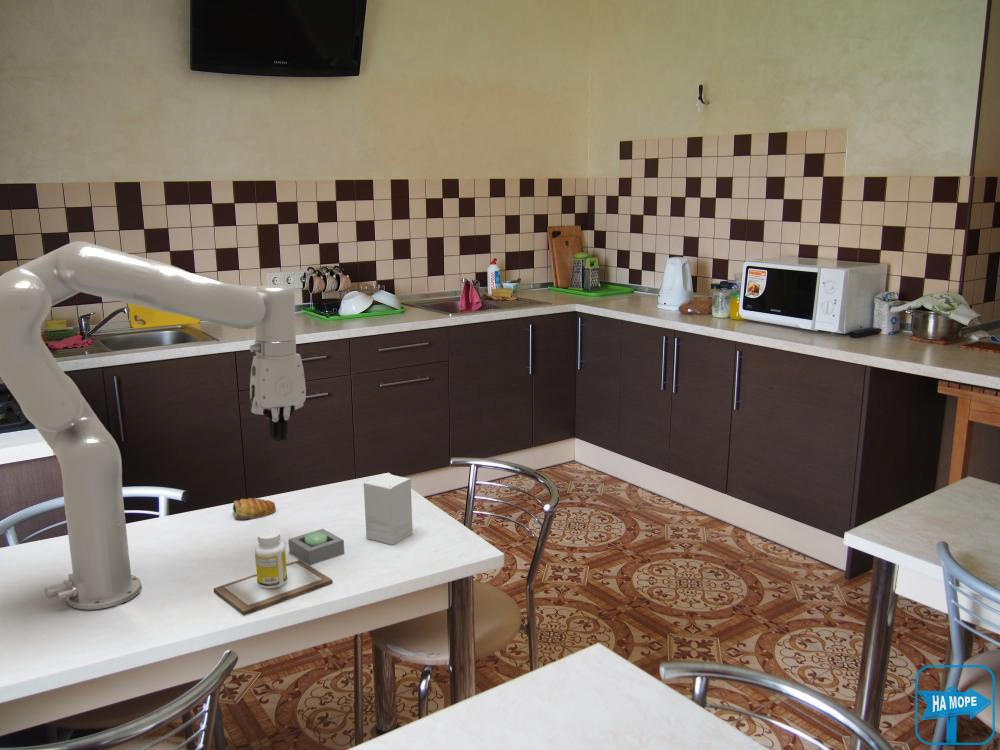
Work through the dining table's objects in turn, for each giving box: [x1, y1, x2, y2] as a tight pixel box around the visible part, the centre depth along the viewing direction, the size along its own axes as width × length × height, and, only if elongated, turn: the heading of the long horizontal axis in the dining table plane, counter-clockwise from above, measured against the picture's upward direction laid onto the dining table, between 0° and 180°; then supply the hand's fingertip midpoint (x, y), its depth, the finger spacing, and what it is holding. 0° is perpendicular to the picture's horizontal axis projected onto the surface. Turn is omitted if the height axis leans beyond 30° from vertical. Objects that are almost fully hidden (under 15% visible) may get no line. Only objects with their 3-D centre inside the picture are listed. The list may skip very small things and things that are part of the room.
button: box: [305, 531, 327, 547], centre depth 175 cm, size 4×4×2 cm
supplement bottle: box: [254, 529, 287, 589], centre depth 159 cm, size 5×5×10 cm
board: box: [213, 559, 334, 616], centre depth 160 cm, size 18×12×1 cm, turn 133°
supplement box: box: [363, 473, 413, 545], centre depth 182 cm, size 7×7×13 cm
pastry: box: [232, 497, 277, 521], centre depth 196 cm, size 9×7×4 cm
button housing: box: [288, 528, 345, 566], centre depth 175 cm, size 8×8×3 cm
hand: (278, 439), depth 171 cm, fingers closed
